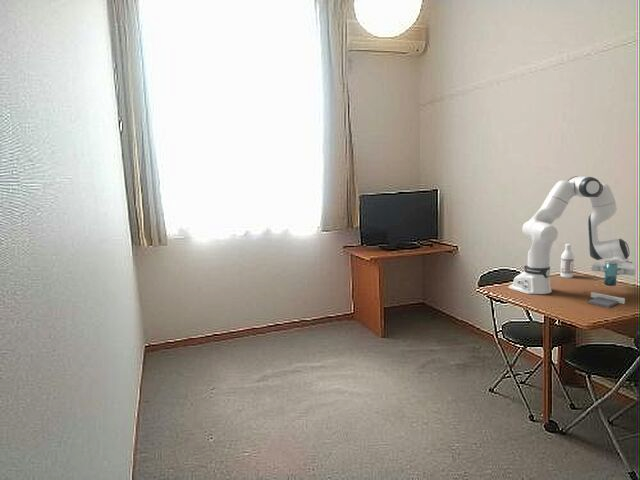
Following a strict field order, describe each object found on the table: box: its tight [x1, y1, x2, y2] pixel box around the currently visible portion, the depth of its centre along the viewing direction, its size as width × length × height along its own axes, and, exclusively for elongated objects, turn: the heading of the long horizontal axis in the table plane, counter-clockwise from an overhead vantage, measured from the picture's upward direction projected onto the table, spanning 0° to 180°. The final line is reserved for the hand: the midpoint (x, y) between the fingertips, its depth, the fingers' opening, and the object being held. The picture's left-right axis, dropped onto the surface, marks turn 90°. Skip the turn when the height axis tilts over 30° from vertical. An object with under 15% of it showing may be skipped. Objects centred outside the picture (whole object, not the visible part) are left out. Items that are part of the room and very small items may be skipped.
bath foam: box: [560, 243, 575, 279], centre depth 297 cm, size 7×7×20 cm
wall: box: [590, 291, 626, 305], centre depth 250 cm, size 16×1×2 cm, turn 35°
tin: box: [603, 260, 618, 287], centre depth 252 cm, size 6×6×12 cm
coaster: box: [587, 297, 619, 308], centre depth 246 cm, size 10×10×1 cm
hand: (610, 271), depth 251 cm, fingers closed on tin, 5 cm apart
